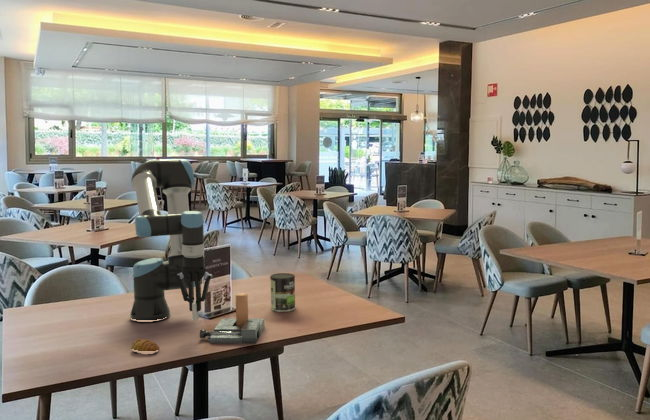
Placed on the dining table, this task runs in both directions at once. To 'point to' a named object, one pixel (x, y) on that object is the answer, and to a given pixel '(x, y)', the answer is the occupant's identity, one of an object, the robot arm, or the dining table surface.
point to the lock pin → (216, 333)
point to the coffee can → (282, 292)
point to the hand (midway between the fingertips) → (195, 319)
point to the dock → (248, 331)
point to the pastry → (144, 345)
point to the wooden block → (241, 309)
